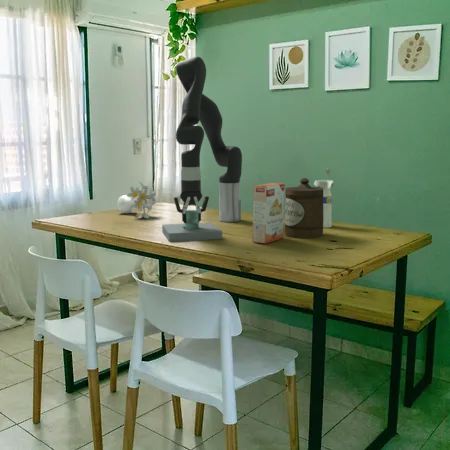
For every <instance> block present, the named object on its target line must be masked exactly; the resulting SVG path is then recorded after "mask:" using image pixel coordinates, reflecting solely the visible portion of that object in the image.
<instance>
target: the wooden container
mask: <svg viewBox="0 0 450 450" xmlns="http://www.w3.org/2000/svg"><path fill="white" fill-rule="evenodd" d="M309 182H310V180H309V179H308V178H307V177H305V178H303V177H302V178H301V179H300V181H299V183H300V184H299V185H298V186H290V187H286V188H285V189H284V197H285V200H284V235H285V236H287V237H292V238H301V239H311V238H312V239H313V238H319V237H323V235H324V228H323V188H320V187H316V186H311V185H310V184H309Z"/></svg>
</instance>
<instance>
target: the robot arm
mask: <svg viewBox="0 0 450 450" xmlns="http://www.w3.org/2000/svg"><path fill="white" fill-rule="evenodd" d="M175 70H176V75H177V78H178V79H179V81H180V83H181V84H182V87H183V88H184V91H185V92H186V95H185V96H184V99H183V101H182V105H181V109H182V110H181V119H180V122H179V123H178V126H177V129H176V131H175V132H176V133H175V139H176V142H177V143H178V144H179V145H187V146H188V145H190V146H191V145H194V146H193V148H192V149H190V150H183V152H181V155H180V157H181V158H180V160H181V161H180V162H181V168H180V189H181V190H180V195H178V196H174V197H173V202H174V205H175V208H176V211H177V212H178V213H181V219H182V222H183V224H185V223H186V210H188V207H189V206H195V210H197V211H198V223H200V222H201V221H202V213H203V212H206V210H207V206H208V203H209V199H210V197H209V196H208V195H203V194H202V186H201V185H202V181H201V179H202V175H201V174H202V173H201V162H200V160H201V159H200V158H201V150H202V149H201V148H202V146H203V141H204V137H205V135H206V137H207V140H208V142H209V145H210V148H211V151H212V154H213V157H214V160H215V162H216V164H217V165H218V166H220V167H223V168H227V169H226V172H225V173H224V174H222V175H219V178H218V180H219V181H218V182H219V183H218V193H219V194H218V211H219V212H218V214H219V215H218V217H219V219H218V220H219V221H220V222H224V223H226V222H227V223H232V222H234V223H235V222H241V221H242V199H240V198H241V196H240V195H241V194H240V192H241V191H240V189H241V187H240V186H241V185H240V184H241V176H242V167H243V166H242V165H243V154H242V150H241V149H240V148H239V146H234V145H231V146H230V145H225V143H224V141H223V138H222V129H223V128H222V127H223V116H222V115H221V112H220V109H219V107H218V105H217V104H216V102H215V101H213V100H212V99H211V98H210V97H208V96H206V94H203V93H204V87H205V82H206V77H207V66H206V63H205V61H204V60H203V58H202V57H201V56H193V57H191V58H186V59H183V60H182V61H178V62H177V63H176V66H175ZM199 122H200V124H201V125H197V124H199ZM201 199H202V201H203V202H202V205H201V207H200V204H199V202H200V201H201ZM181 200H182V201H183V205H182V208H181V206H180V201H181Z"/></svg>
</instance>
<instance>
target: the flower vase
mask: <svg viewBox="0 0 450 450" xmlns="http://www.w3.org/2000/svg"><path fill="white" fill-rule="evenodd" d="M138 183H139V184H140V187H141V190H140V187H139V186H137V187H136V188H134V186H130V192H129V193H128V194H123V195H120V196H119V198H118V199H117V203H116V204H117V208H118V210H119V211H120V212H121V213H123V214H127V215H128V214H131V213H132V212H133V211H134V210H135V209H136V208H137V211H139V212H141V211H142V210H143V213H141V214H139V215H138V216H137V219H142V218H144V219H149V218H153V216H152V215H149V212H151V211H152V209H153V206H154V205H155V204H156V203H157V202H156V199H155V196H156V191H154V190H153V189H154V188H153V186H152V187H151V186H147V185H146V184H145V183H144V182H142V181H139V180H138ZM149 190H150V192H149ZM148 192H149V194H148ZM148 200H150V201H151V202H150V203H148ZM145 209H147V213H146V211H145Z"/></svg>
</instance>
